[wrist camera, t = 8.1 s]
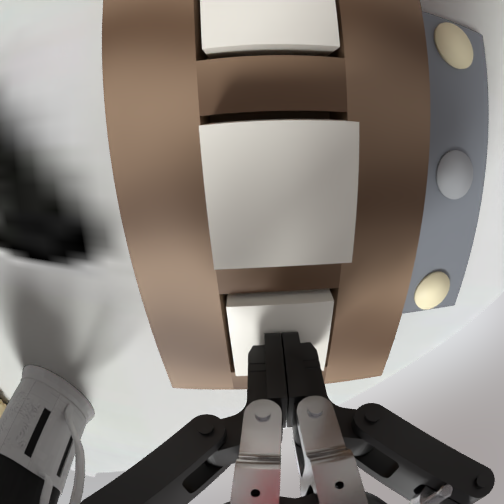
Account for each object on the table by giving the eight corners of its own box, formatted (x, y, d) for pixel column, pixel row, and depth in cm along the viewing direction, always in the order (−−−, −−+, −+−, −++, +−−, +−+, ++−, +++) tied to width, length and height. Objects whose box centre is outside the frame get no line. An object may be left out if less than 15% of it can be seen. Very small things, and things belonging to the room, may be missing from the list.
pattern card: (405, 10, 9) (412, 6, 8) (476, 35, 9) (484, 34, 8) (389, 309, 16) (393, 317, 16) (450, 300, 16) (455, 306, 16)
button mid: (213, 122, 10) (198, 125, 7) (331, 119, 10) (359, 121, 7) (222, 232, 12) (214, 269, 9) (330, 227, 12) (351, 262, 9)
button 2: (210, -20, 8) (199, -50, 6) (311, -22, 8) (326, -52, 5) (213, 63, 10) (201, 49, 7) (320, 61, 10) (339, 46, 7)
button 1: (230, 270, 14) (226, 306, 12) (320, 265, 14) (334, 301, 12) (237, 336, 16) (235, 376, 14) (314, 332, 16) (323, 370, 14)
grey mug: (11, 370, 21) (-43, 474, 7) (79, 346, 18) (2, 519, 5) (66, 421, 24) (30, 522, 11) (150, 413, 22) (118, 565, 8)
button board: (132, -26, 8) (108, -49, 5) (380, -32, 8) (405, -55, 5) (181, 351, 18) (173, 387, 15) (367, 341, 17) (381, 375, 15)
